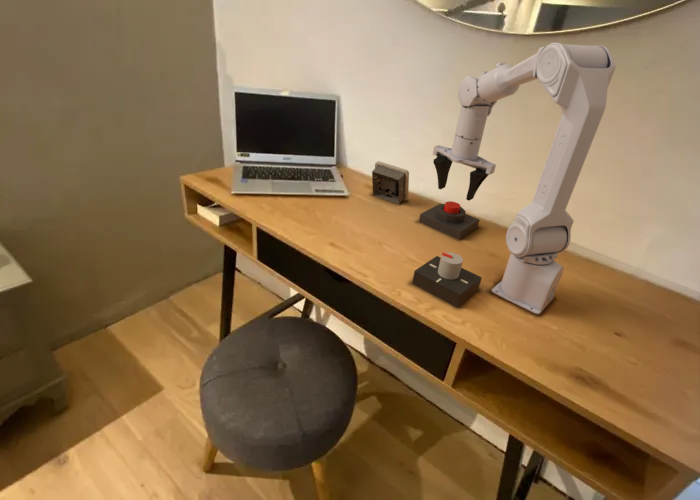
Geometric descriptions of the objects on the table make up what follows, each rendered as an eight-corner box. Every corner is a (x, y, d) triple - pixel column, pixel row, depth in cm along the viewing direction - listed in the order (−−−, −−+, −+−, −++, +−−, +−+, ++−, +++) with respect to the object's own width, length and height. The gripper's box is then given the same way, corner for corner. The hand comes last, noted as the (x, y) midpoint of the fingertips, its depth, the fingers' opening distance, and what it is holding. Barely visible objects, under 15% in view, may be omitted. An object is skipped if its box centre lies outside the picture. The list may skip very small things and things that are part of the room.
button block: (477, 227, 113) (481, 212, 111) (458, 239, 107) (462, 224, 105) (438, 211, 119) (441, 196, 117) (418, 221, 113) (421, 206, 110)
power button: (461, 211, 111) (463, 205, 110) (454, 216, 109) (455, 209, 108) (448, 206, 113) (450, 199, 112) (440, 210, 111) (442, 204, 110)
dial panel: (478, 289, 90) (482, 276, 89) (457, 308, 85) (460, 293, 83) (434, 267, 96) (437, 254, 94) (411, 283, 90) (414, 269, 89)
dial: (462, 272, 89) (466, 255, 87) (454, 282, 86) (458, 265, 84) (442, 265, 91) (446, 248, 89) (434, 274, 88) (438, 257, 86)
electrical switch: (408, 200, 122) (412, 168, 117) (398, 209, 119) (402, 175, 113) (377, 190, 126) (379, 158, 121) (367, 198, 123) (369, 165, 117)
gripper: (430, 129, 103) (419, 187, 110) (490, 149, 95) (475, 209, 102) (447, 124, 107) (435, 179, 114) (505, 142, 100) (490, 200, 107)
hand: (455, 193), depth 108 cm, fingers open, 7 cm apart
